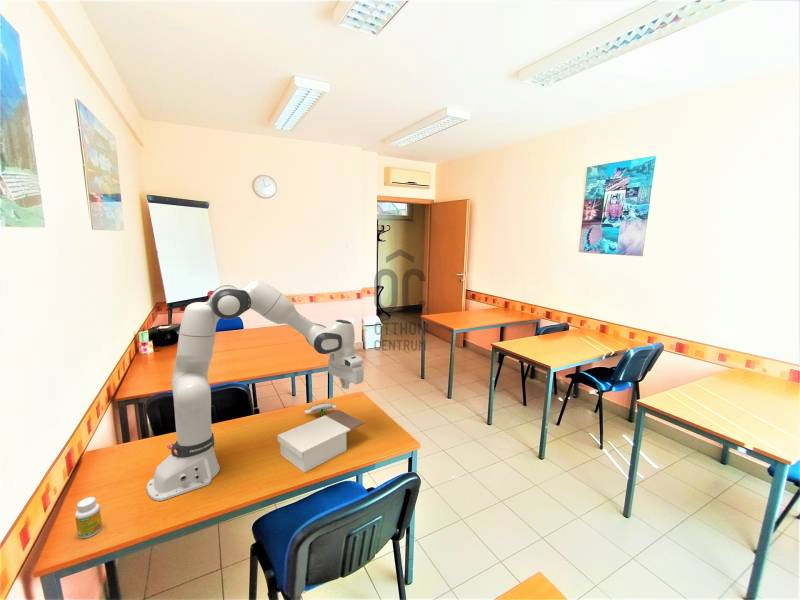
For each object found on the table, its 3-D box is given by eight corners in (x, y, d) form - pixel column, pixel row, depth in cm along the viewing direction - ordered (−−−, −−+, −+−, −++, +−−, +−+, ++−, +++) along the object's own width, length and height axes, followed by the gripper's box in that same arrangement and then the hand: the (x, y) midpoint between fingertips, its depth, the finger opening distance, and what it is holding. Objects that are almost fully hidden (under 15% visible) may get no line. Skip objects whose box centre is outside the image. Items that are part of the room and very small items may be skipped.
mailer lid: (301, 458, 130) (301, 452, 130) (277, 441, 142) (277, 435, 141) (364, 428, 152) (363, 422, 152) (338, 415, 164) (338, 409, 164)
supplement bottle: (79, 542, 100) (75, 511, 99) (76, 531, 104) (72, 502, 103) (103, 531, 104) (100, 501, 103) (100, 521, 108) (96, 492, 107)
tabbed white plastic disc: (333, 406, 184) (336, 393, 178) (337, 420, 179) (340, 407, 172) (304, 411, 178) (305, 398, 172) (306, 426, 173) (308, 412, 166)
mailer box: (304, 472, 132) (303, 452, 131) (280, 454, 143) (279, 436, 142) (346, 450, 147) (346, 432, 145) (322, 435, 158) (321, 418, 157)
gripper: (323, 353, 156) (324, 383, 158) (354, 364, 143) (354, 397, 145) (335, 350, 161) (336, 379, 163) (366, 360, 147) (366, 392, 149)
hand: (345, 388), depth 154 cm, fingers closed
